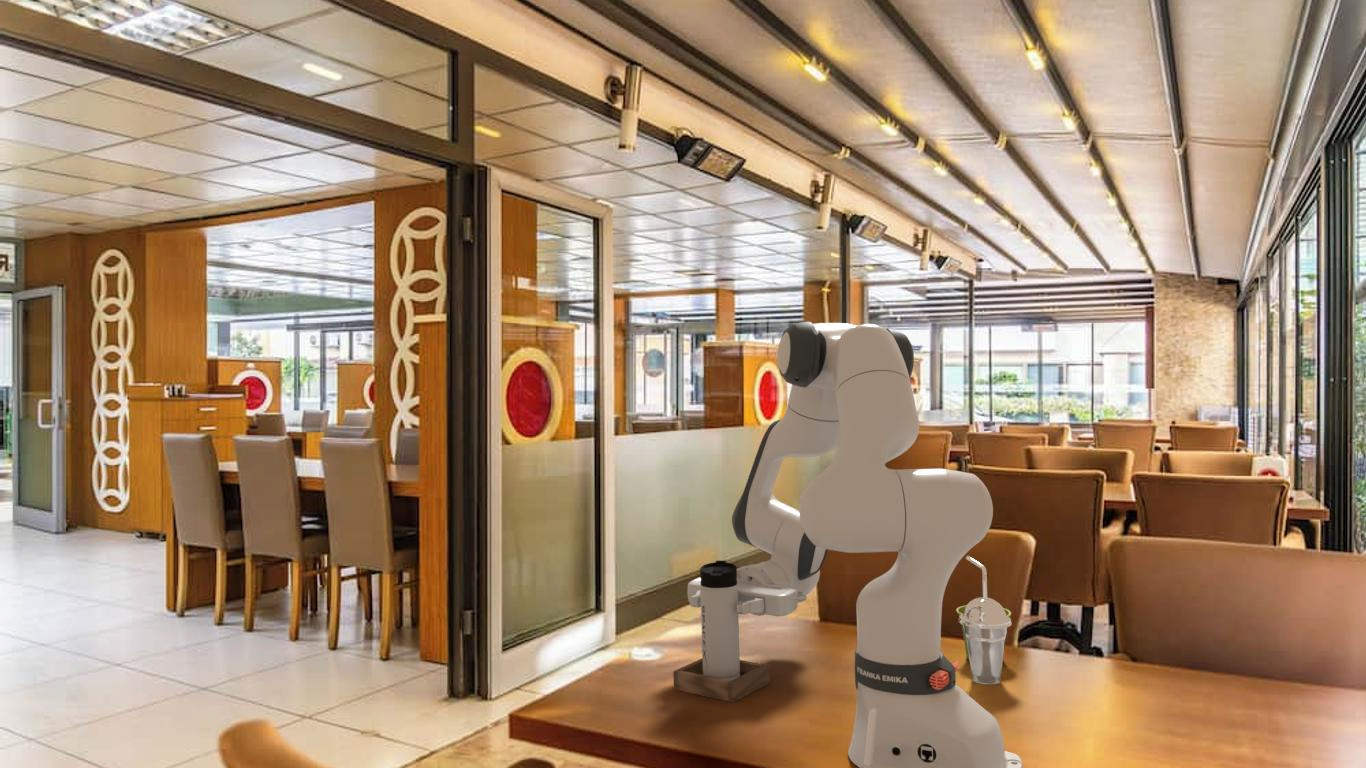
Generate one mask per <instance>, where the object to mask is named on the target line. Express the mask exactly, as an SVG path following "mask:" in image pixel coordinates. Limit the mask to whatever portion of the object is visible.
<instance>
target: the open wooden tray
mask: <svg viewBox="0 0 1366 768" xmlns="http://www.w3.org/2000/svg"><path fill="white" fill-rule="evenodd" d="M672 673H673V690H676V691H681V692H685V693H689V694H694V695H697V696H703V697H707V698H708V697H709V698H712V699H717V700H719V701H720V700H721V701H724V702H725V701H726V702H728V703H729V702H730V703H735V702H737V701H738V700H739V701H740V700H741V699H742V698H744V697H746V696H748V695H750V694H752V693H754V692H756V691H758V690H760V689H761V688H763V687H765V686H766V685H769V684H770V665H769V664H763V663H758V662H754V661H747V660H744V659H743V660H742V659H740V677H738V678H736V679H734V680H732V681H729V680H724V679H719V678H714V677H710V676H705V675H703V659H702V658H699V659H697V660H695V661H693V662H691V663H688V664H687V665H684V666H681V667H679V668H678V669H675V670H673V671H672Z"/></svg>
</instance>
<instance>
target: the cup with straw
mask: <svg viewBox="0 0 1366 768" xmlns="http://www.w3.org/2000/svg"><path fill="white" fill-rule="evenodd" d="M965 560H967V561H969V562H970V563H971V564H973V565H975V566H976V567H978V568H979V569H980V570H981V572H982V575H981V576H982V597H980V596H979V597H976V598H974V599H972V600H970V601H969V602H968V603H967V604H966V605H967V606H966V607H965V610H964V613H963V614H961V615H960V616H959V615H958V623H959V624H960V625H961V626H962V625H963V626H964V632H965V637H966V638H967V645H968V653H969V659H968V660H969V667H970V672H971V675H972V679H971V680H972V681H973V682H974V683H977V684H980V685H997V684H1000V683H1001V676H1002V673H1003V671H1002V670H1003V669H1002V668H1003V658H1004V650H1005V649H1004V646H1005V641H1006V636H1007V633H1008V630H1007V629H1008V628H1009V627H1011V626H1012V625H1013V624H1012V623H1013V622H1012V619H1011V616H1010V617H1008V616H1006V613H1005V610H1004V609H1003V608H1004V607H1003V606H1002V605H1001V604H1000V602H998V601H996V599H993V598H991V597H988V577H987V574H988V573H987V568H986V565H983V564H982V563H980V562H979V561H977V560H976V559H975V558H973V557H971V556H970V555H966V557H965Z"/></svg>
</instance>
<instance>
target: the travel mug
mask: <svg viewBox="0 0 1366 768" xmlns="http://www.w3.org/2000/svg"><path fill="white" fill-rule="evenodd" d="M737 567H738V566H736V565H735V564H734V563H731V562H727V561H726V560H715V562H710V563H706V564H703V565H702V566H701V567H700V568H699V570H700V571H699V572H700V575H699V576H700V578H701V584H700V587H701V607H700V619H701V620H700V621H701V653H702V658H701V659H703V675H705V676H710V677H714V678H719V679H724V680H729V681H732V680H734V679H736V678H738V677H740V660H741V658H740V628H739V627H740V623H739V622H740V621H739V614H738V613H737V603H738V588H737V586H738V585H737V579H736V578H737Z"/></svg>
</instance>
